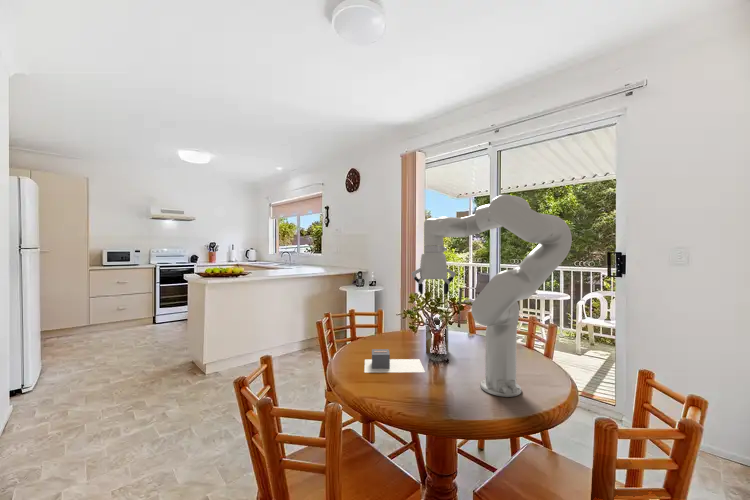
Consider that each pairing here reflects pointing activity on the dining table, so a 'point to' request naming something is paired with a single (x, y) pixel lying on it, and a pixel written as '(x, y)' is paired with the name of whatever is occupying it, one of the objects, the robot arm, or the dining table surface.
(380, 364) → the dark grey box
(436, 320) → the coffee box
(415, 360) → the hub board
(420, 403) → the dining table surface
